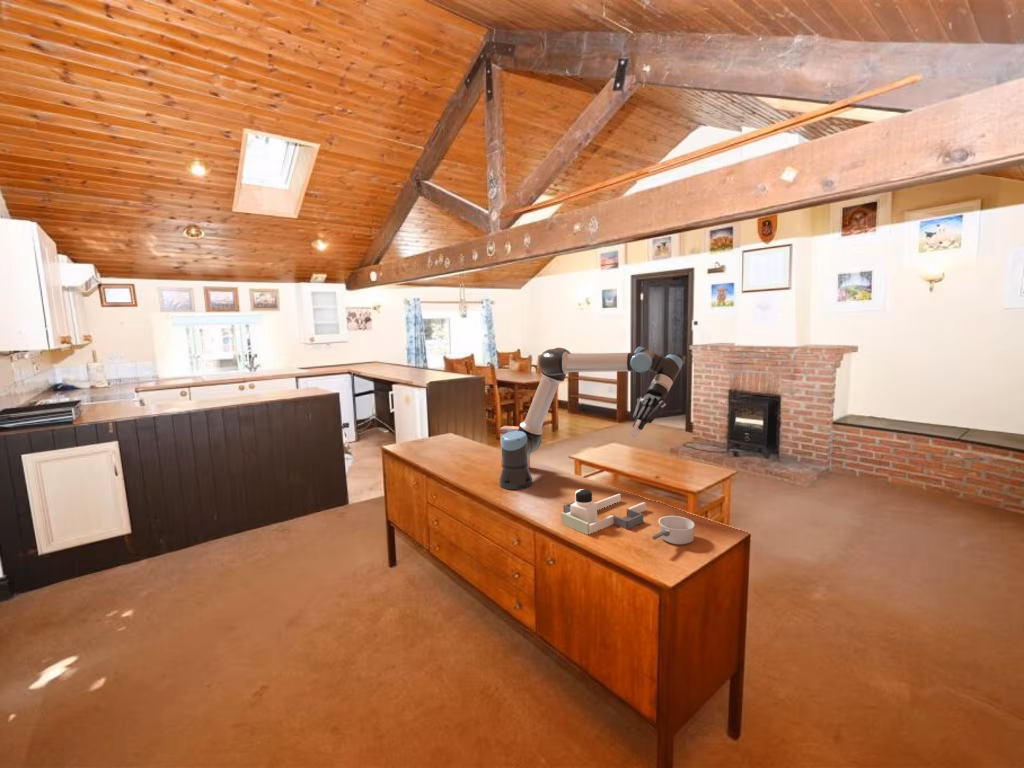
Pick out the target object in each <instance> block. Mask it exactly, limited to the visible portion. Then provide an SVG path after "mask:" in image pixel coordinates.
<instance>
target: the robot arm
mask: <svg viewBox="0 0 1024 768" xmlns="http://www.w3.org/2000/svg"><path fill="white" fill-rule="evenodd" d="M683 364H684V363H683V360H682V358H681V357H679V356H678V355H676V354H672V353H671V354H668V355H666V356H663V355H660V354H657V353H655V352H653V350H652V351H651V350H649V349H647V347H646V348H645V347H642V346H638V347H637V348H635V351H634V352H607V353H606V352H603V353H597V352H596V353H571V352H570V351H569V350H568V349H566V348H564V347H555V348H550V349H549V348H548V349H547V350H545V351H543V352H542V353H541V354H540V356H539V358H538V368H539V369H540V375H541V378H540V380H539V383H538V386H537V389H536V391H535V394H534V396H533V397H532V398H533V399H532V402H531V404H530V406H529V408H528V412H527V414H526V416H525V418H524V421H522V422H520V423H519V426H518V427H519V428H518V431H511V432H508V433H506V434H504V435H503V436H502V441H500V447H501V446H502V467H501V468H502V469H501V472H500V476H499V479H498V480H499V481H498V482H499V483H498V484H499V487H501V488H503V489H505V490H506V489H507V490H523V489H527V488H529V487H531V486H532V485H533V477H532V475H531V474H532V473H531V472H530V469H529V468H528V455H529V454H530V455H531V454H532V453H534V452H536V451H537V450H538V449H539V448H540V446H541V444H542V439H543V438H542V436H543V433H544V431H543V428H542V426H543V425H544V422H545V419H546V417H547V415H548V412H549V409H550V408H551V405H552V402H553V400H554V398H555V394H556V393H557V390H558V387H559V385H560V384H561V383H563V382H564V381H565V379H566V377H567V375H568V373H579V372H580V373H581V372H582V373H585V372H586V373H593V372H595V373H596V372H597V373H598V372H601V373H602V372H605V373H606V372H607V373H609V372H610V373H611V372H612V373H613V372H637V373H645V372H647V371H650V372H651V373H654V374H655V376H654V378H653V379H652V381H651V383H650V384H649V386H648V388H647V390H646V394H645V395H644V396H643V398H640V397H638V398H637V399H636V405H635V410H634V412H633V415H632V417H633V419H634V420H635V421H634V423H633V424H632V429H631V430H630V435H631V436H632V437H633V438H637V437H638V436H639V434H640V432H641V431H642V430H644V427H645V425H646V424H651V423H653V421H654V420H655V419H656V418H657V417H658V415H659V414H660V412H662V410H664V409H665V408H667V404H666V403H665V401H664V400H665V399H666V397H667V395H668V394H669V392H670V389H671V388H672V386H673V384H674V382H675V380H676V378H677V376H678V375H679V374H680V371H681V369H682V367H683Z"/></svg>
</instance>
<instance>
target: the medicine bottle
mask: <svg viewBox="0 0 1024 768" xmlns="http://www.w3.org/2000/svg"><path fill="white" fill-rule="evenodd" d="M574 502H575V503H573V504H571V505H570V515H571V516H573V517H576V518H578V519H580V520H583V521H585V522H587V523H589V524H591V523H594V522H596V521H598V511H597V503H595V502H594V501H593V492H592V491H591V490H589V489H586V488H582V489H580V488H579V489H577V490H576V491H575V493H574Z"/></svg>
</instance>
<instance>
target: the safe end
mask: <svg viewBox="0 0 1024 768" xmlns="http://www.w3.org/2000/svg"><path fill="white" fill-rule="evenodd" d="M560 523H561V524H562V525H564V524H565V525H564V526H566V525H567V526H566V527H568V526H569V528H570V527H571V528H570V529H573V528H574V529H573V530H575V529H576V530H575V531H577V530H578V531H577V532H579V531H580V532H579V533H581V532H582V533H581V534H583V533H585V534H584V535H586V534H587V535H586V536H589V535H590V534H589V523H587V522H585V521H583V520H580V519H578V518H576V517H573V516H571V515H569V514H566V513H564V511H562V512H560ZM588 534H589V535H588Z"/></svg>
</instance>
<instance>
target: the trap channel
mask: <svg viewBox="0 0 1024 768" xmlns="http://www.w3.org/2000/svg"><path fill="white" fill-rule="evenodd" d="M621 496H622V494H621V493H617V494H614V495H612V496H609V497H606V498H603V499H601V500H598V501H595V502H594V503H597V510H598V511H600V510H602V508H603V509H605V508H608V507H610V506H609V505H611V506H613V505H615V504H614V503H616V504H618V503H621V502H622V497H621ZM620 501H621V502H620ZM617 502H618V503H617ZM573 503H575V501H573V502H570V503H566V504H565V505H562V507H563V512H564V513H566V514H569V515H570V505H571V504H573ZM612 504H613V505H612ZM607 506H608V507H607ZM646 506H647V504H646V502H644V501H642V502H640V503H637V504H635V505H633V506H630V507H628V508H626V515H625V516H624V517H620V516H616V515H614V514H611V515H608V516H605V517H603V518H601V519H597V521H596V522H594V523H591V524H589V535H591V533H592V534H594V533H596V532H599V531H601V530H603V529H605V528H608V527H611V526H612V525H616V527H617V526H618V527H620V528H623V529H625V530H628V529H632V528H634V527H636V526H639V525H641V524H642V523H644V514H643V513H642V512H645V511H646V509H647V507H646ZM604 507H605V508H604ZM599 509H600V510H599ZM600 529H601V530H600ZM598 530H599V531H598ZM593 532H594V533H593Z"/></svg>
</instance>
